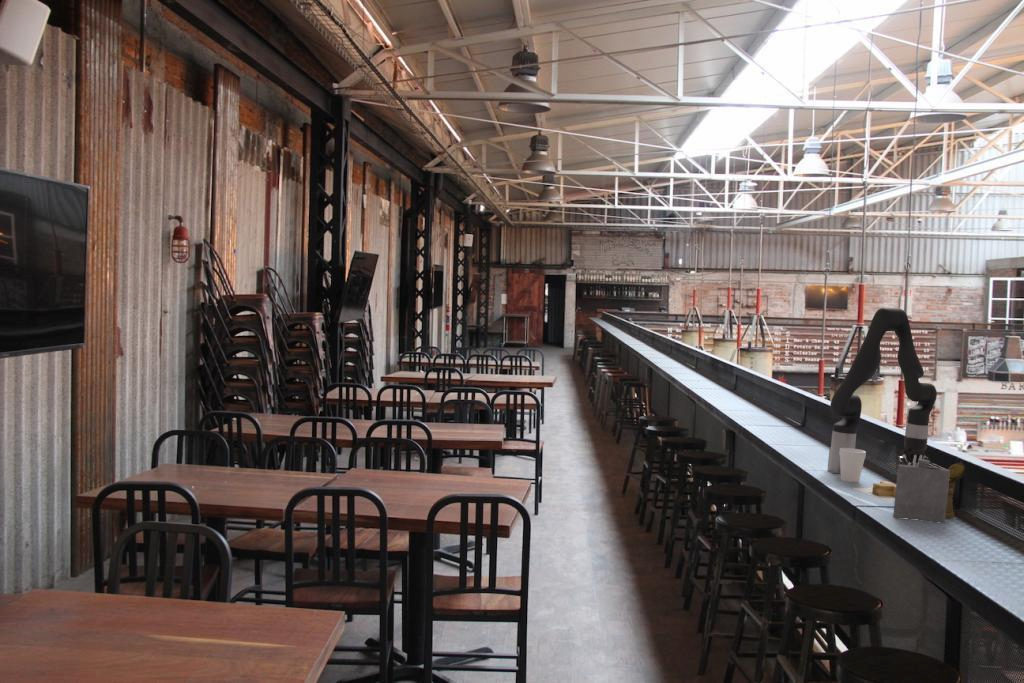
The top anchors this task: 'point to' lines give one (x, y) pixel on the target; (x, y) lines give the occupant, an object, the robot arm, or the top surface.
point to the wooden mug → (953, 485)
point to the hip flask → (921, 492)
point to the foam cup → (851, 464)
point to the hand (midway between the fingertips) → (911, 481)
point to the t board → (869, 492)
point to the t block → (884, 488)
